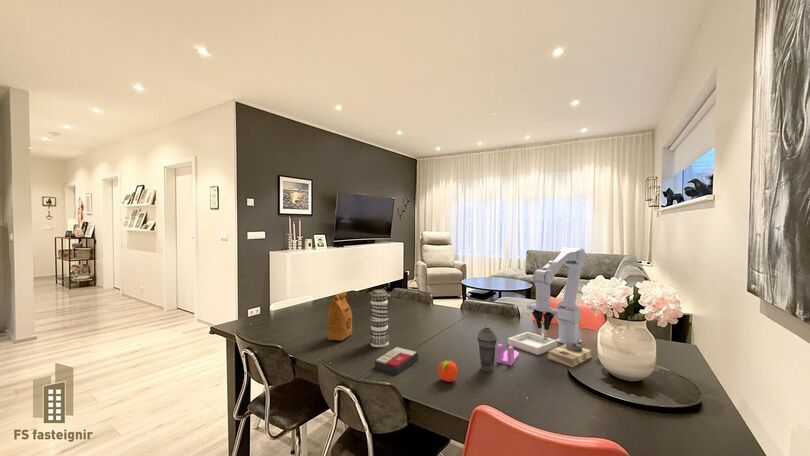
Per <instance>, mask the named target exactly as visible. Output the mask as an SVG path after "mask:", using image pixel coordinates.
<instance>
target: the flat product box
mask: <svg viewBox="0 0 810 456" xmlns="http://www.w3.org/2000/svg"><path fill="white" fill-rule="evenodd" d="M418 361H419V353H418V352H417V351H414V350H410V349H405V348H402V347H399V346H398V347H397V346H396V347H394V348H393V349H391V350H389V351H387V352H385V354H383V355H381V356H380V357H378V358H377V359H376V360H374V369H377V370H380V371H383V372H388V373H390V374H395V375H400V374H402V372H404V371H405V370H407V369H408V368H410V366H412V365H414V364H416V363H417V362H418Z"/></svg>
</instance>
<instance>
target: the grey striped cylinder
mask: <svg viewBox="0 0 810 456" xmlns="http://www.w3.org/2000/svg"><path fill="white" fill-rule="evenodd" d="M368 307H369V315H370V317H369V318H370V319H369V320H370V322H371V324H370V328H369V329H370V333H369V334H370V346H371V347H374V348H383V347H387V346H388V345H389V341H390V335H389V331H390V330H389V329H390V328H389V324H388V320H389V314H390V313H389V310H390V309H389V307H390V305H389V302H388V292H387V291H386V290H384V289H374V290H372V291H371V293H370V302H369V306H368Z"/></svg>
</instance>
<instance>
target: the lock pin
mask: <svg viewBox="0 0 810 456" xmlns="http://www.w3.org/2000/svg"><path fill="white" fill-rule="evenodd" d="M540 323H541V328H540V329H541V336H542V340H547V338H548V336H547V335H548V334H547V330H545V322H544V319H542V320H540Z"/></svg>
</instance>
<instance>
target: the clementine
mask: <svg viewBox="0 0 810 456" xmlns="http://www.w3.org/2000/svg"><path fill="white" fill-rule="evenodd" d="M437 371H438V376H439V377H440V379H442V380H443V382H447V383H449V382H453V381H455V379H457V377H458V374H459V370H458V366H457V365H456V363H454V362H453V361H452V360H450V359H449V360H443V361H442V362H441V363H440V364H439V366H438V370H437Z"/></svg>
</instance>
